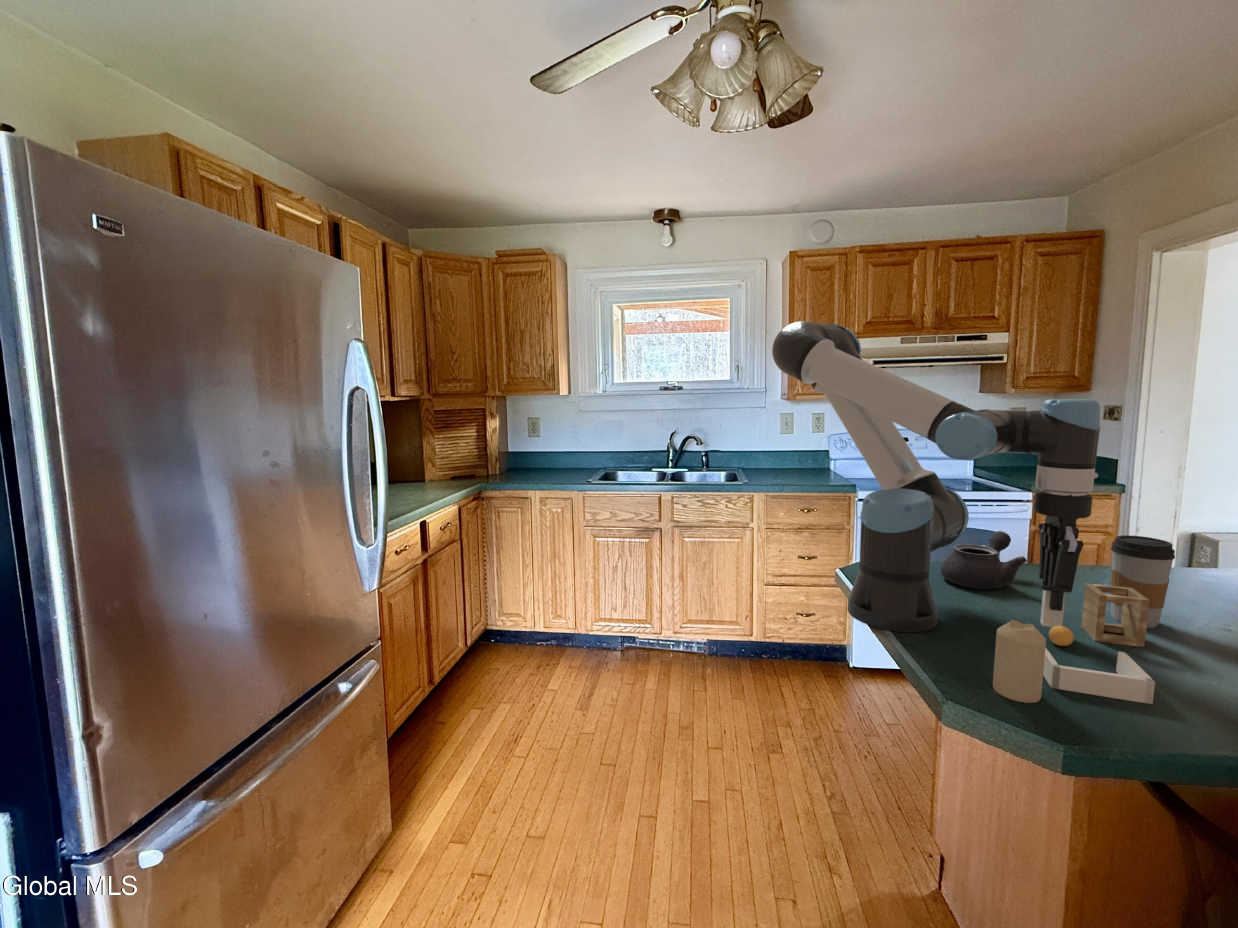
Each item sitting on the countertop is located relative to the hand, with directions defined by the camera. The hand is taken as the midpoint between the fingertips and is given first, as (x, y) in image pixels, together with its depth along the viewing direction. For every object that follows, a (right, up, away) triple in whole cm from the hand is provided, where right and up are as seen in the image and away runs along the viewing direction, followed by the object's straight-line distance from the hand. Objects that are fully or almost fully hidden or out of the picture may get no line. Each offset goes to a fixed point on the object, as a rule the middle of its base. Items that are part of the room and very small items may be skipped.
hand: (1051, 625), depth 95 cm
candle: (-19, -4, -18) cm, 27 cm away
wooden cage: (+9, -1, -2) cm, 9 cm away
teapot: (+6, +2, +26) cm, 27 cm away
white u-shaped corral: (-7, -3, -15) cm, 17 cm away
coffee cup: (+19, -1, +4) cm, 19 cm away
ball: (-2, -2, -4) cm, 5 cm away
